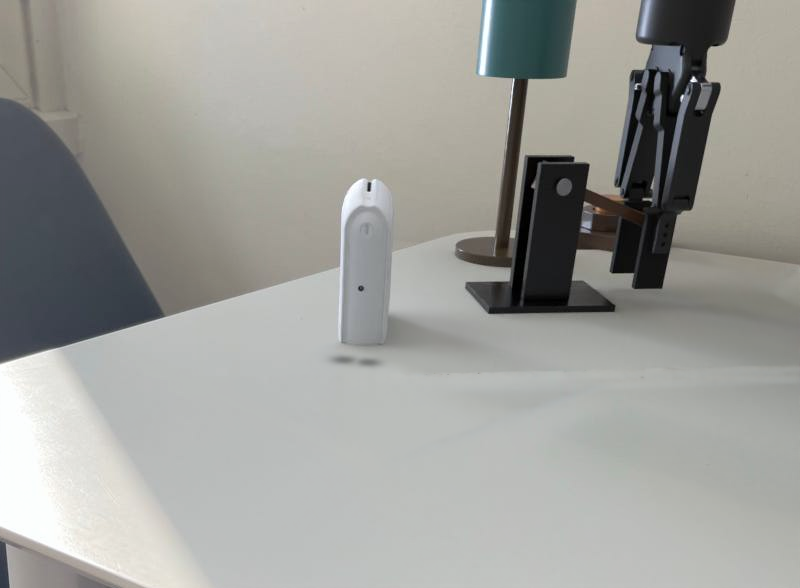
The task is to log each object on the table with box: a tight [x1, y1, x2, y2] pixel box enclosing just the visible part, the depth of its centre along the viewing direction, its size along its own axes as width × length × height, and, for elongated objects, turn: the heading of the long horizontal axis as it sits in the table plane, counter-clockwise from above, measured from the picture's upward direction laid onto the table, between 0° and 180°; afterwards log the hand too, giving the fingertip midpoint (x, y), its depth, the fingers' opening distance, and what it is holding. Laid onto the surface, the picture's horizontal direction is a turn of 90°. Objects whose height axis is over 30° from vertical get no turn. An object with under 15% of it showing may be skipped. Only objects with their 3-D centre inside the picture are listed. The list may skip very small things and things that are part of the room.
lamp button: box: [595, 193, 623, 213], centre depth 114 cm, size 4×4×2 cm
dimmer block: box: [577, 204, 619, 253], centre depth 116 cm, size 12×10×4 cm
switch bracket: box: [464, 154, 616, 315], centre depth 92 cm, size 12×9×13 cm
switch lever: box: [531, 160, 645, 228], centre depth 90 cm, size 12×5×2 cm, turn 96°
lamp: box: [454, 0, 578, 268], centre depth 103 cm, size 10×10×25 cm
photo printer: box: [337, 178, 395, 347], centre depth 83 cm, size 10×4×12 cm, turn 177°
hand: (635, 279), depth 95 cm, fingers closed on switch lever, 5 cm apart
